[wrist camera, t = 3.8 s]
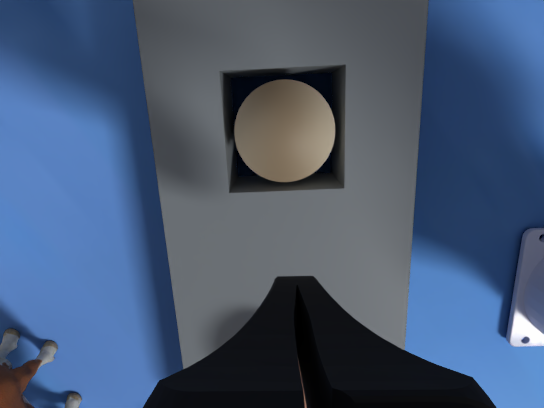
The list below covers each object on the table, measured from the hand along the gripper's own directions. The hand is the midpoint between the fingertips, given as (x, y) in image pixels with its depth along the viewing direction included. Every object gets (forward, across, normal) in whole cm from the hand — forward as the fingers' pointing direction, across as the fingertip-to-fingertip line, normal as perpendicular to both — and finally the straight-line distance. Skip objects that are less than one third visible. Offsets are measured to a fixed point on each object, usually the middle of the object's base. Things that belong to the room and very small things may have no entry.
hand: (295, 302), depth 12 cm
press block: (+9, 0, +1) cm, 9 cm away
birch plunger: (+8, 0, -5) cm, 10 cm away
